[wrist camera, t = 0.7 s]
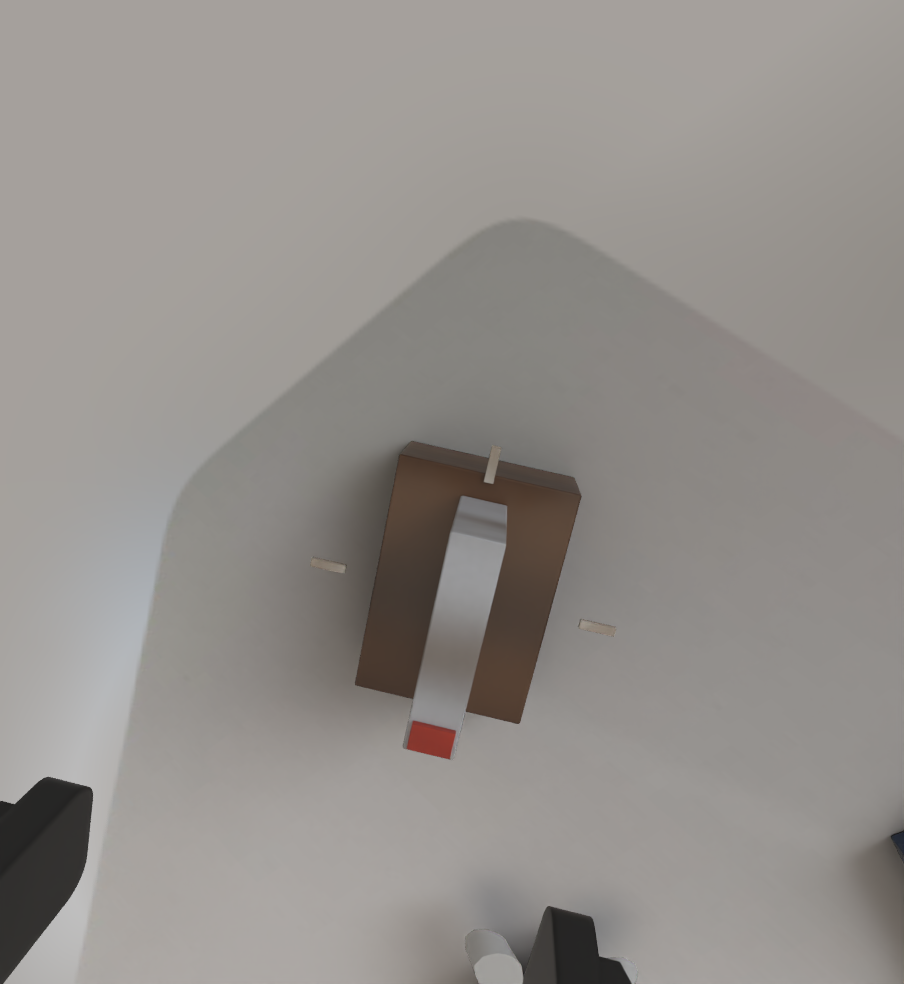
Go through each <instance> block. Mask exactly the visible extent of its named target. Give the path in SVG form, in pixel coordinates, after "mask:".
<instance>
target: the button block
mask: <svg viewBox="0 0 904 984" xmlns="http://www.w3.org/2000/svg"><path fill="white" fill-rule="evenodd" d="M891 838H892V840H893V843H894V845H895V847H896V849H897V851H898V853H899V855H900V857H901V859H902V861H903V863H904V832H901V833H898V834H896V835H893V836H891Z"/></svg>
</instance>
